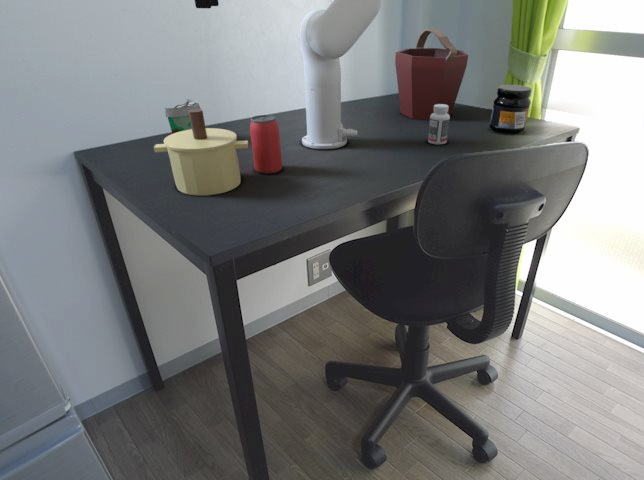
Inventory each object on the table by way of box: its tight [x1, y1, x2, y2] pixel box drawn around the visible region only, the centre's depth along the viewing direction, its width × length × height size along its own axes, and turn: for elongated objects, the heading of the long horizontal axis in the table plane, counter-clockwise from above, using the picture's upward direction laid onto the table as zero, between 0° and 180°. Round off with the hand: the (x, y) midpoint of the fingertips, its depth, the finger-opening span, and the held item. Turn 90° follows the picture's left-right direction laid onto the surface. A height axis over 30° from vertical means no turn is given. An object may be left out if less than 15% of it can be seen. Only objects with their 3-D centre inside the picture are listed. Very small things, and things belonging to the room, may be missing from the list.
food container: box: [164, 98, 202, 134], centre depth 123 cm, size 12×6×10 cm, turn 168°
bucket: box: [394, 28, 469, 121], centre depth 146 cm, size 24×22×25 cm
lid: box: [163, 108, 238, 152], centre depth 94 cm, size 15×15×7 cm
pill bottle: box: [427, 104, 451, 145], centre depth 124 cm, size 5×5×10 cm
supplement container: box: [489, 84, 532, 135], centre depth 134 cm, size 10×10×12 cm
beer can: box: [249, 114, 283, 175], centre depth 105 cm, size 7×7×12 cm
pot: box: [153, 140, 249, 197], centre depth 98 cm, size 14×19×10 cm
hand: (207, 7), depth 99 cm, fingers open, 9 cm apart
